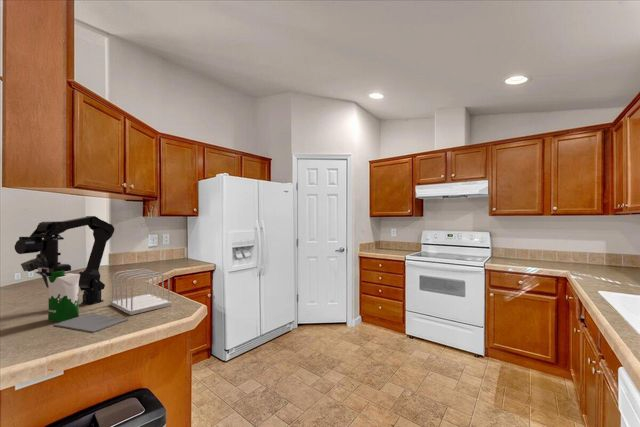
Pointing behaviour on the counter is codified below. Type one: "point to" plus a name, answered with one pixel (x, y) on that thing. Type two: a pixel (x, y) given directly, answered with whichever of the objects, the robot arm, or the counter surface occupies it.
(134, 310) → the file sorter
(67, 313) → the soya milk
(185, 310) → the counter surface
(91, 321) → the mat
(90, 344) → the counter surface
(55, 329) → the counter surface
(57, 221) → the robot arm
